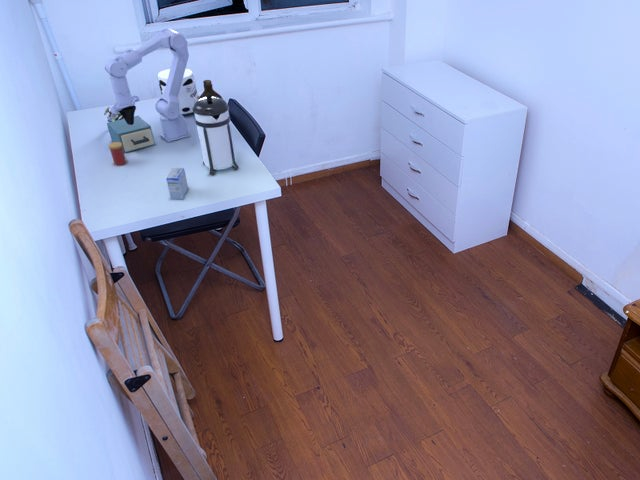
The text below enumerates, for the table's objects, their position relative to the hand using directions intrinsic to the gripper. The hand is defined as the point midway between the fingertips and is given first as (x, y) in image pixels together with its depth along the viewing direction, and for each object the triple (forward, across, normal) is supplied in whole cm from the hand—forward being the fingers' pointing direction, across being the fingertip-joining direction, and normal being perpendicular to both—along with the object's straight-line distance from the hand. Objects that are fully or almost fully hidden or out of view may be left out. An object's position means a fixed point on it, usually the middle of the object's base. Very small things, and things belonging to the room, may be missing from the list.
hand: (130, 124), depth 222 cm
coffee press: (+11, -3, -40) cm, 41 cm away
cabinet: (+10, +3, +4) cm, 11 cm away
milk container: (+11, +40, +4) cm, 41 cm away
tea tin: (+10, -14, -3) cm, 17 cm away
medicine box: (+11, -27, -38) cm, 47 cm away
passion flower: (+11, +16, +19) cm, 27 cm away
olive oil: (+11, +19, -26) cm, 34 cm away
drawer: (+10, +1, +1) cm, 10 cm away
